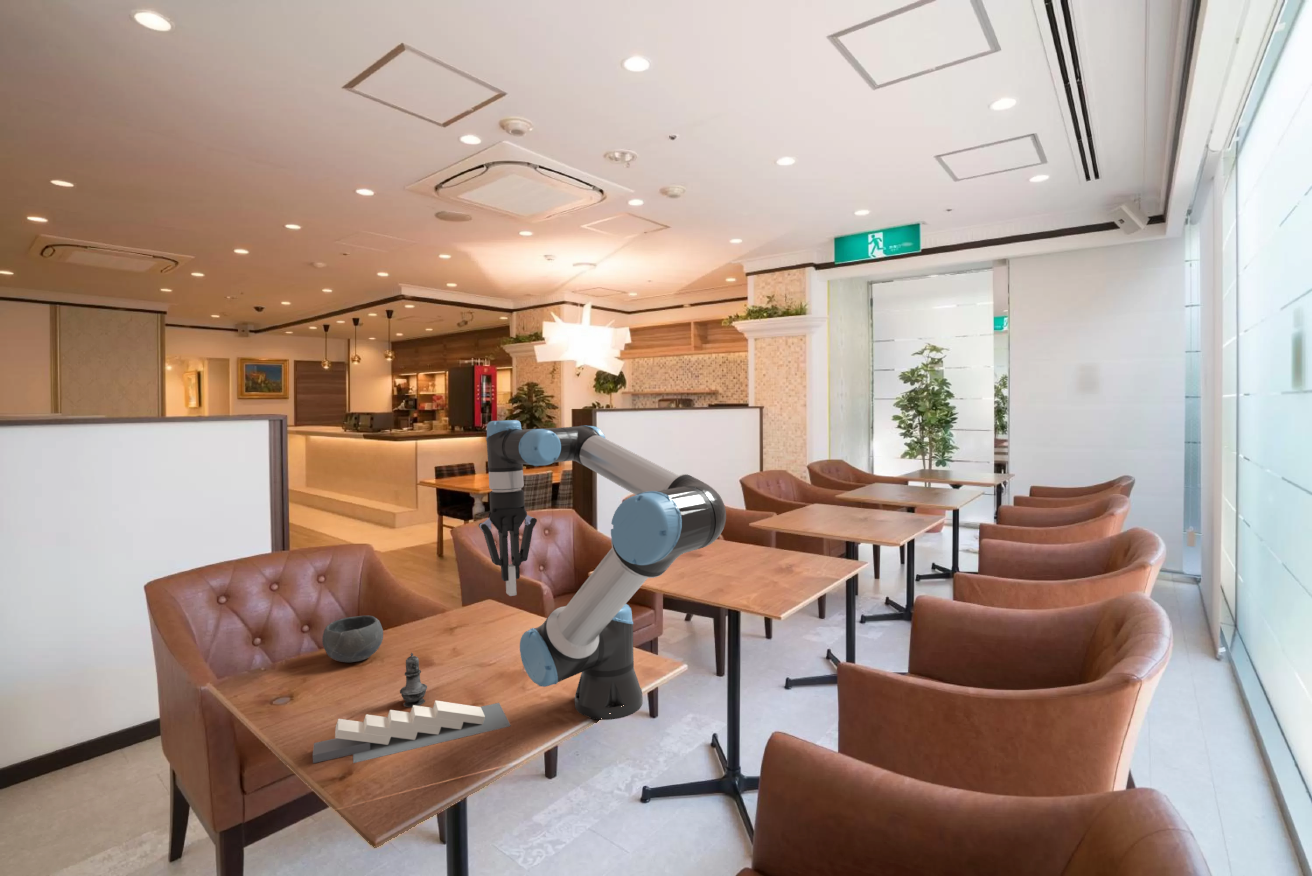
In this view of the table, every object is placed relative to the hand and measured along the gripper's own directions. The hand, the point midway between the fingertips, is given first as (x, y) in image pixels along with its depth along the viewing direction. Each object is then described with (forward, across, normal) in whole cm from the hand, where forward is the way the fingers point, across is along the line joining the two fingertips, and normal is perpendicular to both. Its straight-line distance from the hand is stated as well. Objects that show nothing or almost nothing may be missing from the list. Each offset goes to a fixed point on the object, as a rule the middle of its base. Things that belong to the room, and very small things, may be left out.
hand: (511, 594), depth 146 cm
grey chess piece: (+25, +20, -13) cm, 35 cm away
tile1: (+24, +9, +4) cm, 26 cm away
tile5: (+24, +27, +2) cm, 36 cm away
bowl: (+25, +29, -50) cm, 63 cm away
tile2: (+24, +13, +3) cm, 28 cm away
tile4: (+24, +22, +2) cm, 33 cm away
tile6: (+24, +31, +2) cm, 39 cm away
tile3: (+24, +18, +3) cm, 30 cm away
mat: (+25, +19, +3) cm, 32 cm away
